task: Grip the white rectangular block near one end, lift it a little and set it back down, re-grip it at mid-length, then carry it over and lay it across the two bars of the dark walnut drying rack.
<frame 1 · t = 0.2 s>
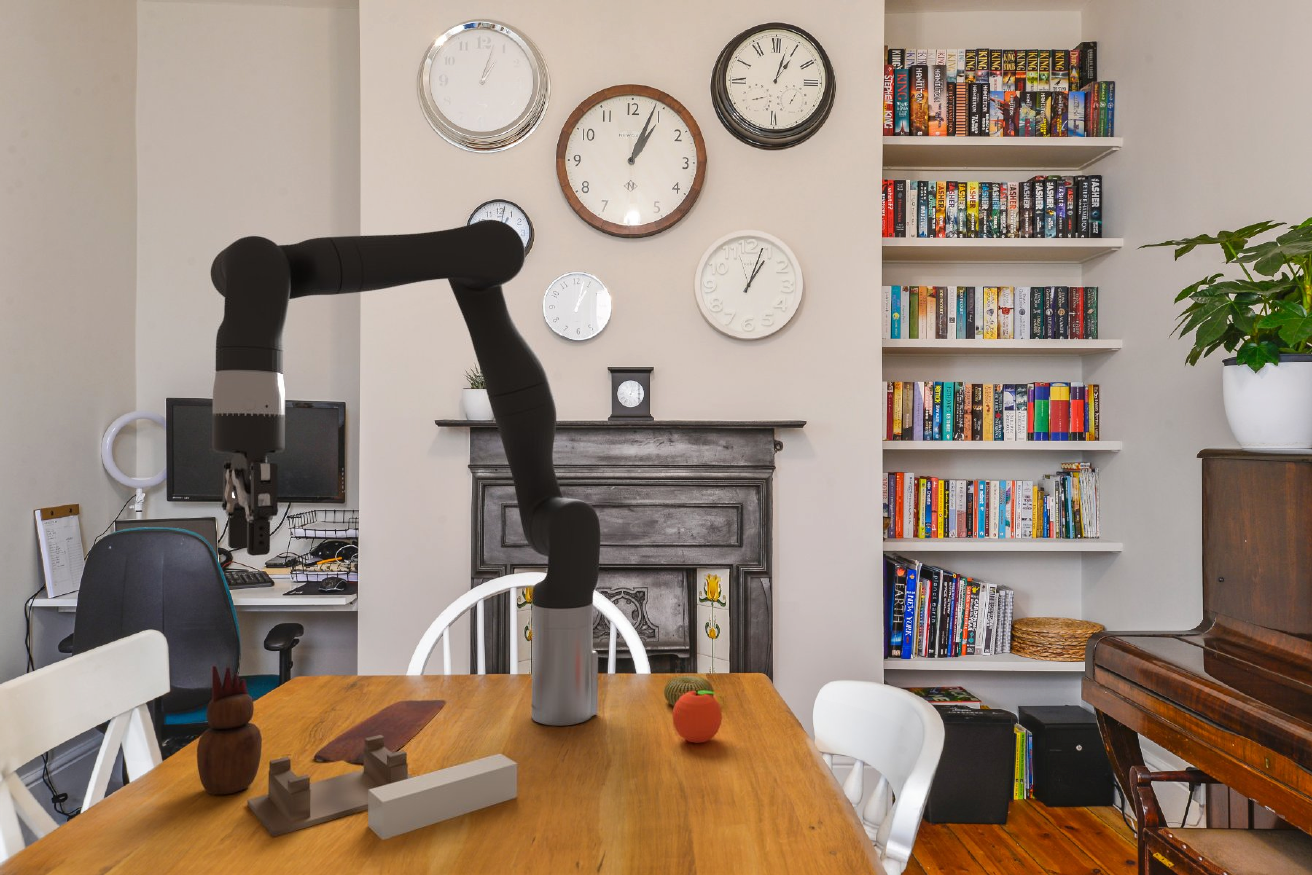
hand: (248, 551, 92), 29 cm above the table, tool pointing down, fingers open, 8 cm apart
rack: (338, 798, 92), on the table
white rectangular block: (445, 813, 89), on the table
wooden figurine: (229, 790, 95), on the table
clementine: (700, 742, 111), on the table
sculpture: (688, 705, 128), on the table
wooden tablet: (390, 733, 116), on the table
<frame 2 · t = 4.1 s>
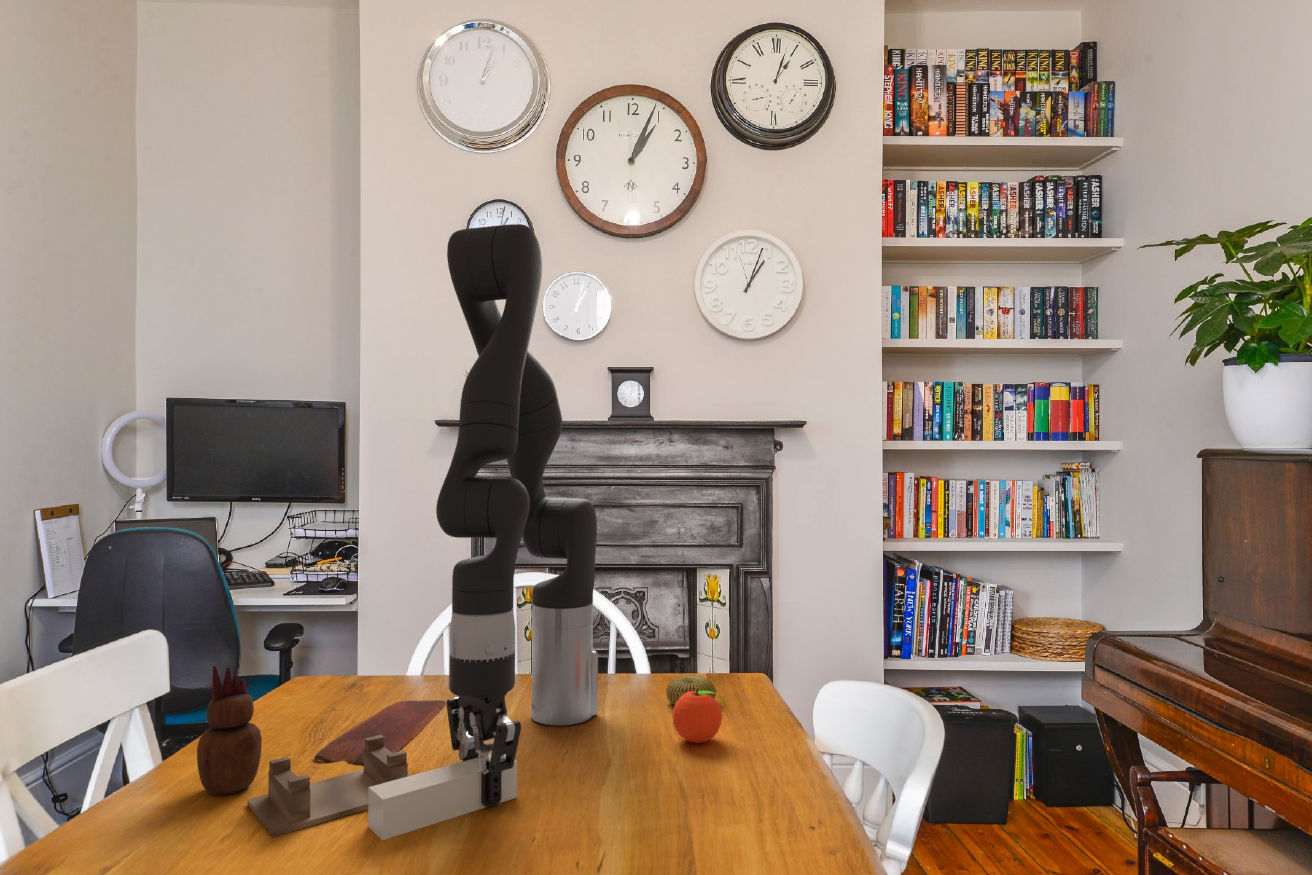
hand: (481, 796, 92), 0 cm above the table, tool pointing down, fingers closed on white rectangular block, 4 cm apart
white rectangular block: (445, 811, 89), on the table, touching gripper
everything else where it was.
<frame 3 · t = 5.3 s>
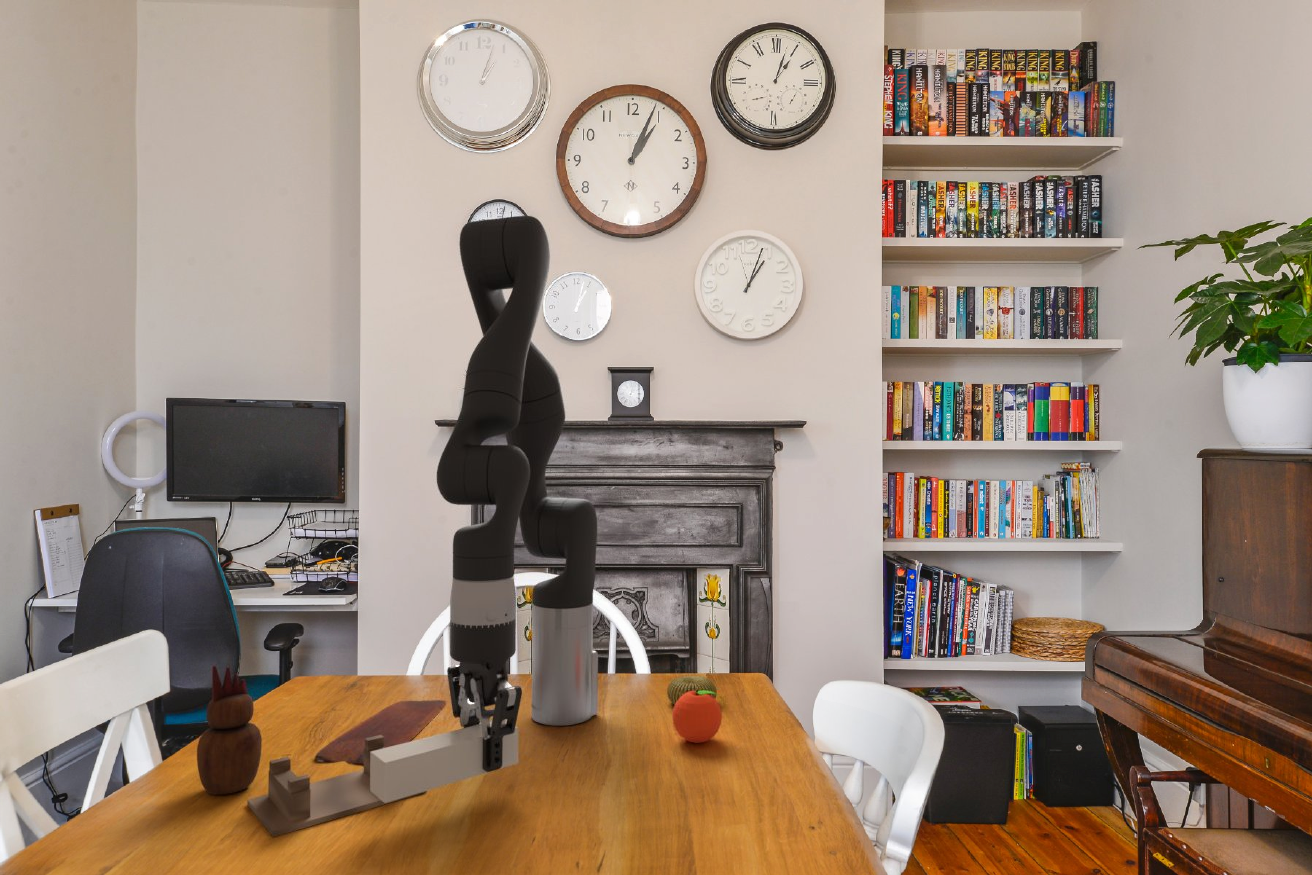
hand: (482, 762, 92), 4 cm above the table, tool pointing down, fingers closed on white rectangular block, 4 cm apart
white rectangular block: (447, 776, 89), point 4 cm above the table, touching gripper
everything else where it was.
when the fingers open (0 cm above the table, at t = 6.5 s): white rectangular block stays where it is, on the table.
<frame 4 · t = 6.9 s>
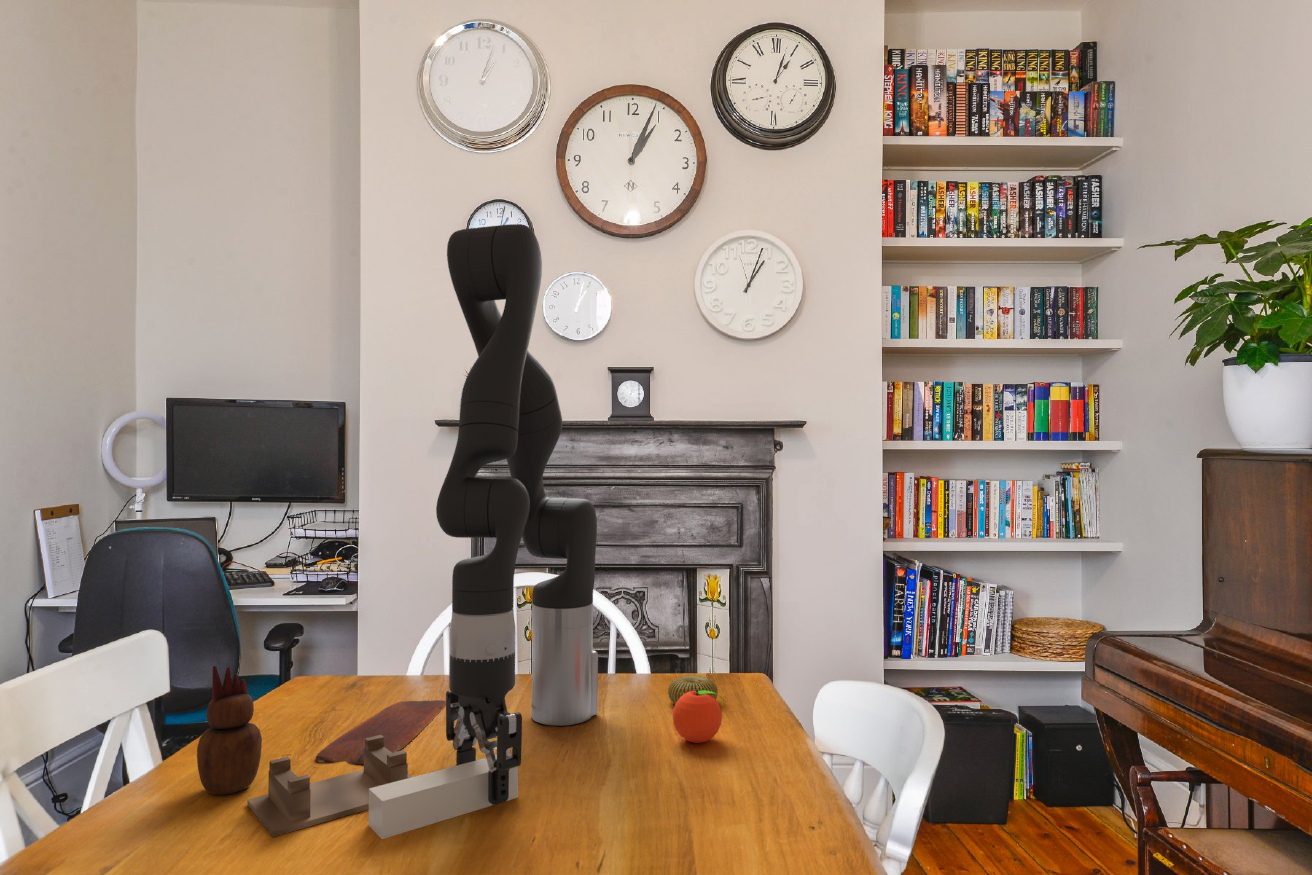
hand: (481, 790, 92), 1 cm above the table, tool pointing down, fingers open, 7 cm apart
white rectangular block: (446, 813, 89), on the table
everything else where it was.
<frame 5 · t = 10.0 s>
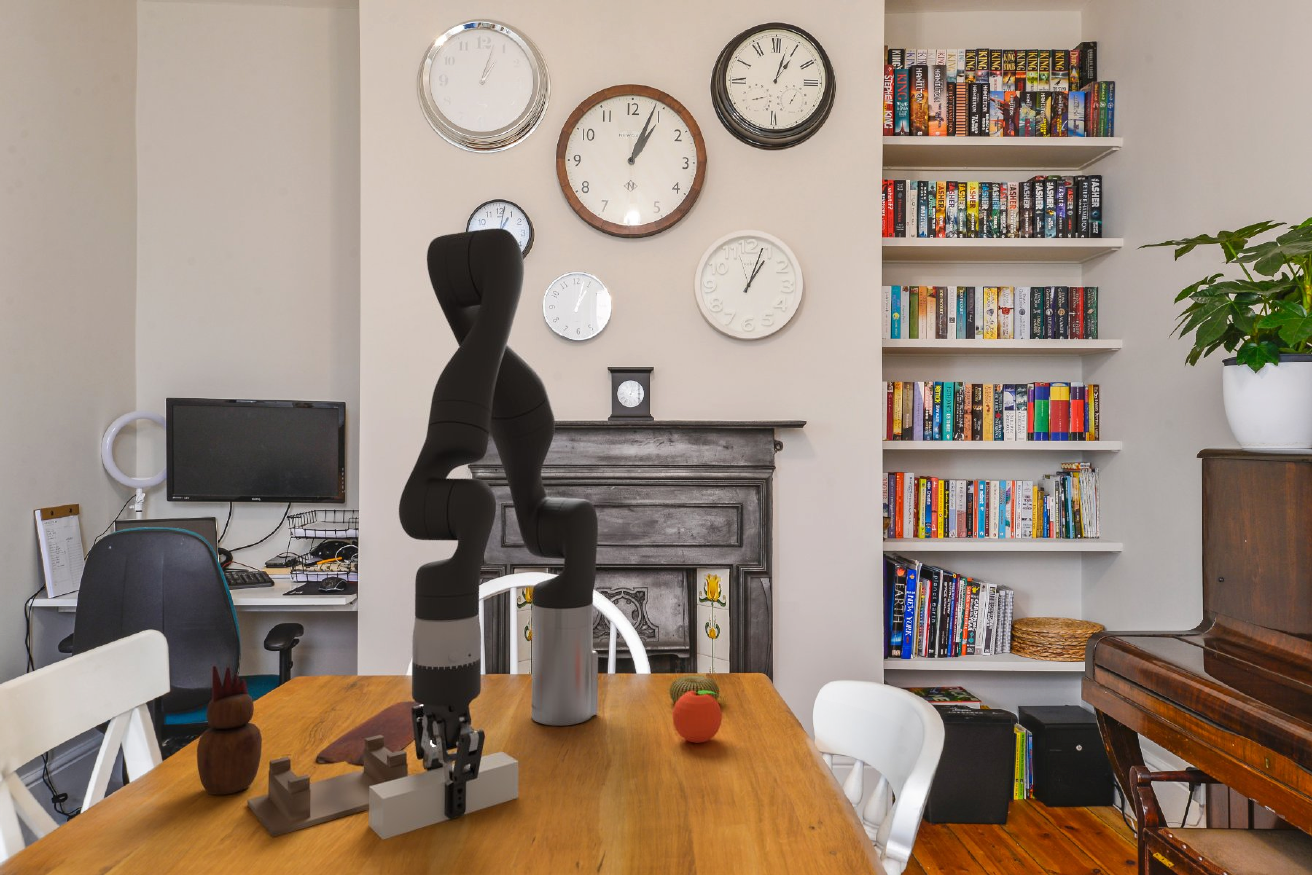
hand: (445, 807, 89), 0 cm above the table, tool pointing down, fingers closed on white rectangular block, 4 cm apart
white rectangular block: (446, 810, 89), on the table, touching gripper
everything else where it was.
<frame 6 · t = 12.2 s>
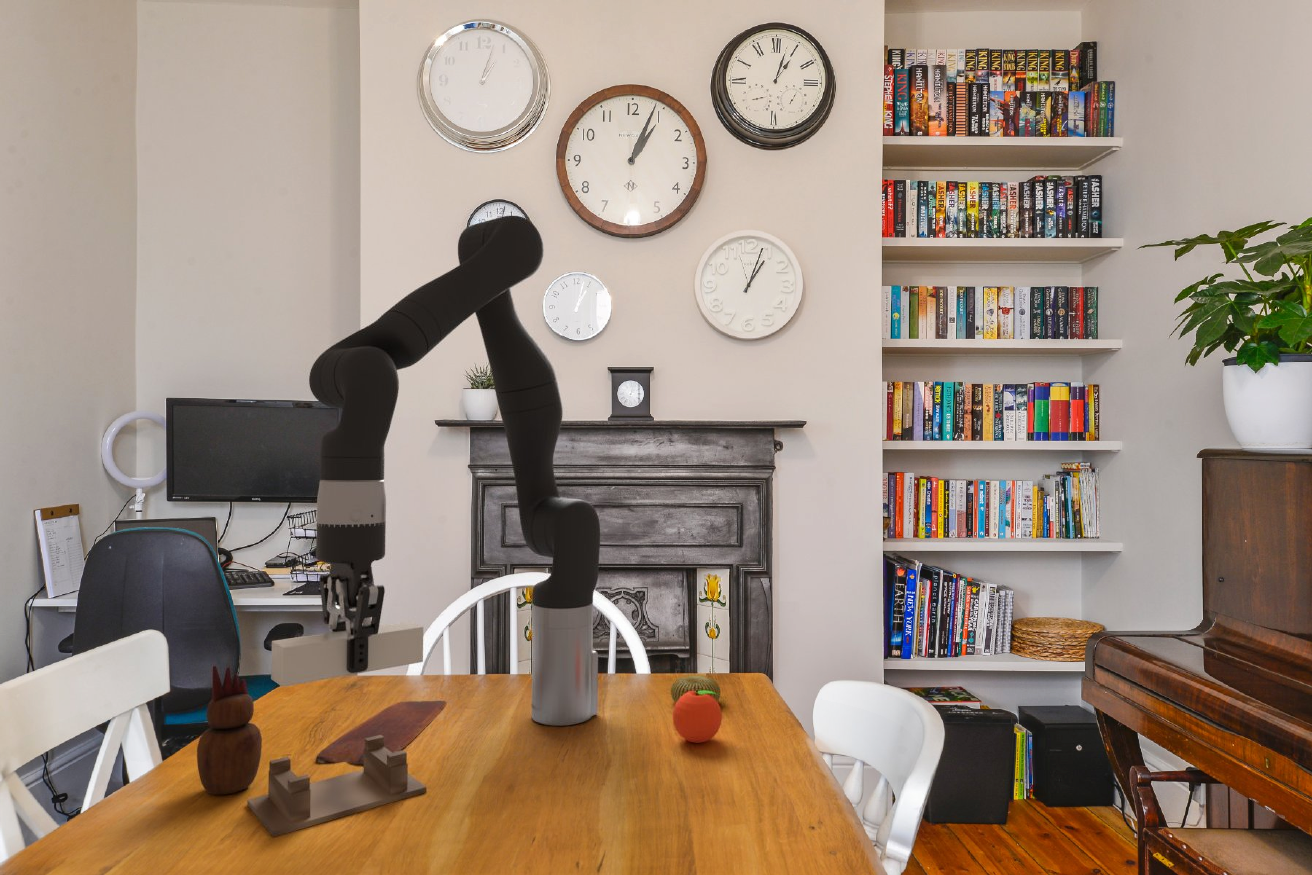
hand: (349, 666, 92), 15 cm above the table, tool pointing down, fingers closed on white rectangular block, 4 cm apart
white rectangular block: (350, 669, 92), point 15 cm above the table, touching gripper
when the fingers open (5 cm above the table, at t = 14.7 s): white rectangular block stays where it is, resting on rack.
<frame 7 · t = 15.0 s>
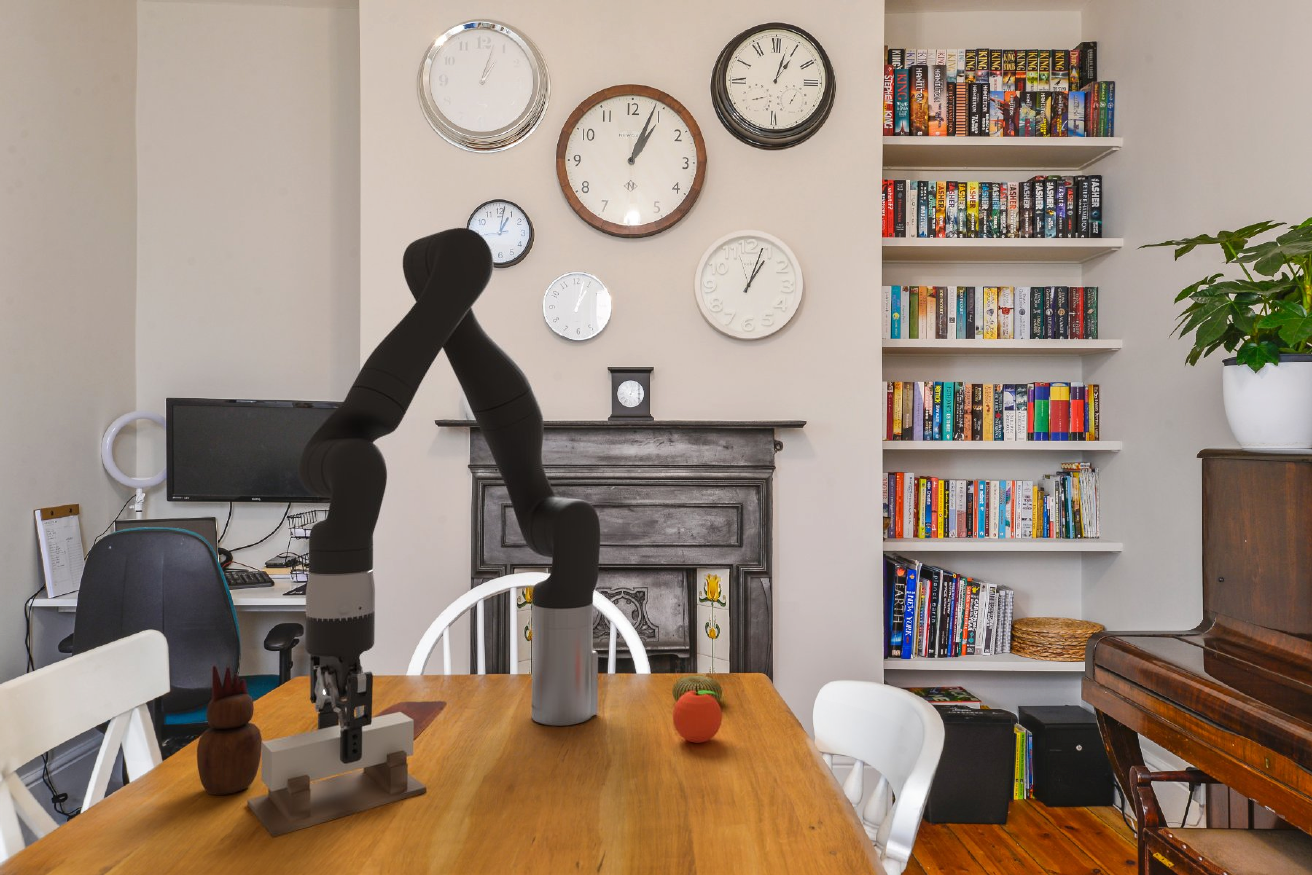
hand: (339, 751, 92), 5 cm above the table, tool pointing down, fingers open, 7 cm apart
white rectangular block: (340, 766, 92), point 4 cm above the table, touching rack
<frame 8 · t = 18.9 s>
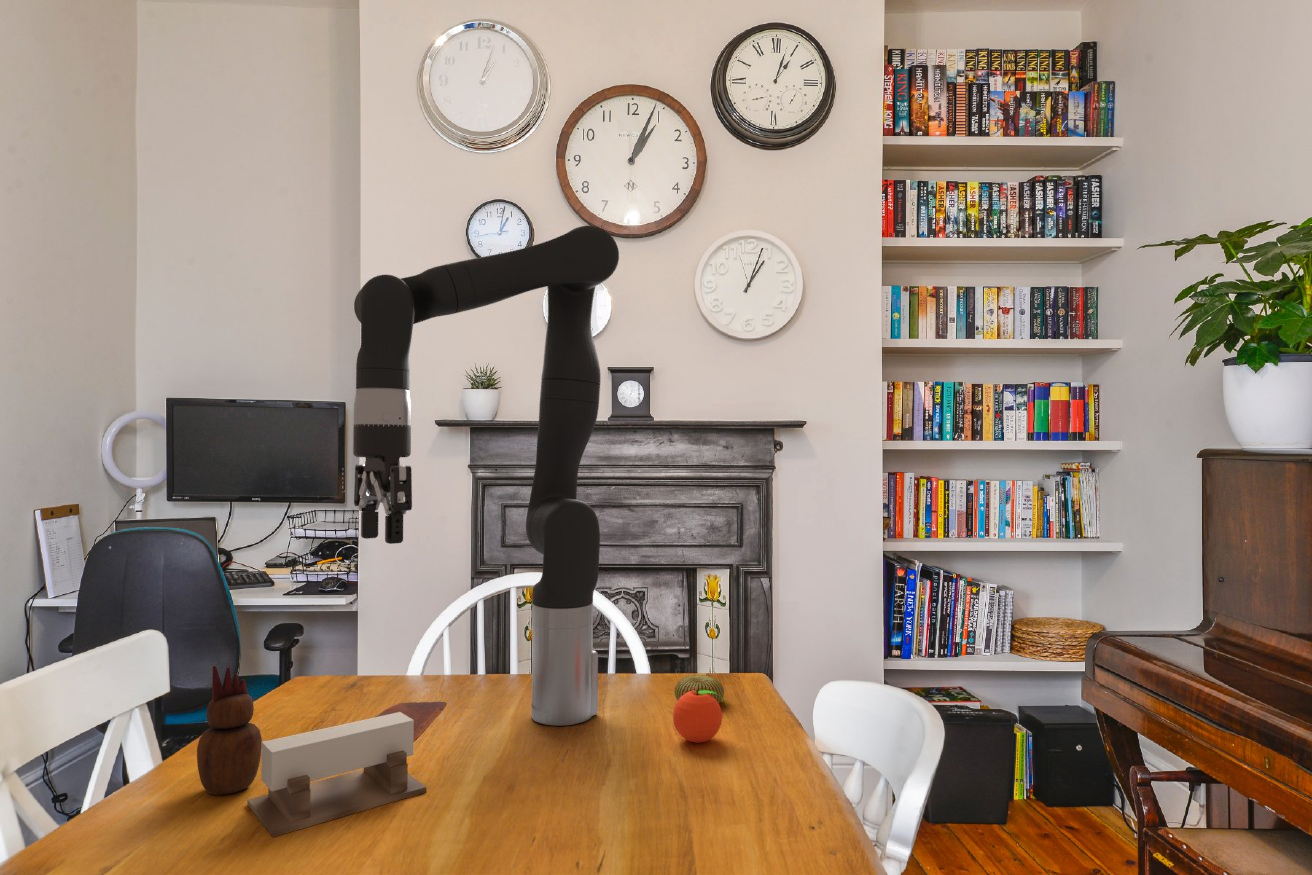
hand: (381, 540, 109), 28 cm above the table, tool pointing down, fingers open, 8 cm apart
at the end: white rectangular block 0.1 cm off-centre on the rack, point 3.6 cm above the rack's base; white rectangular block tilted 0°; the gripper is holding nothing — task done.
